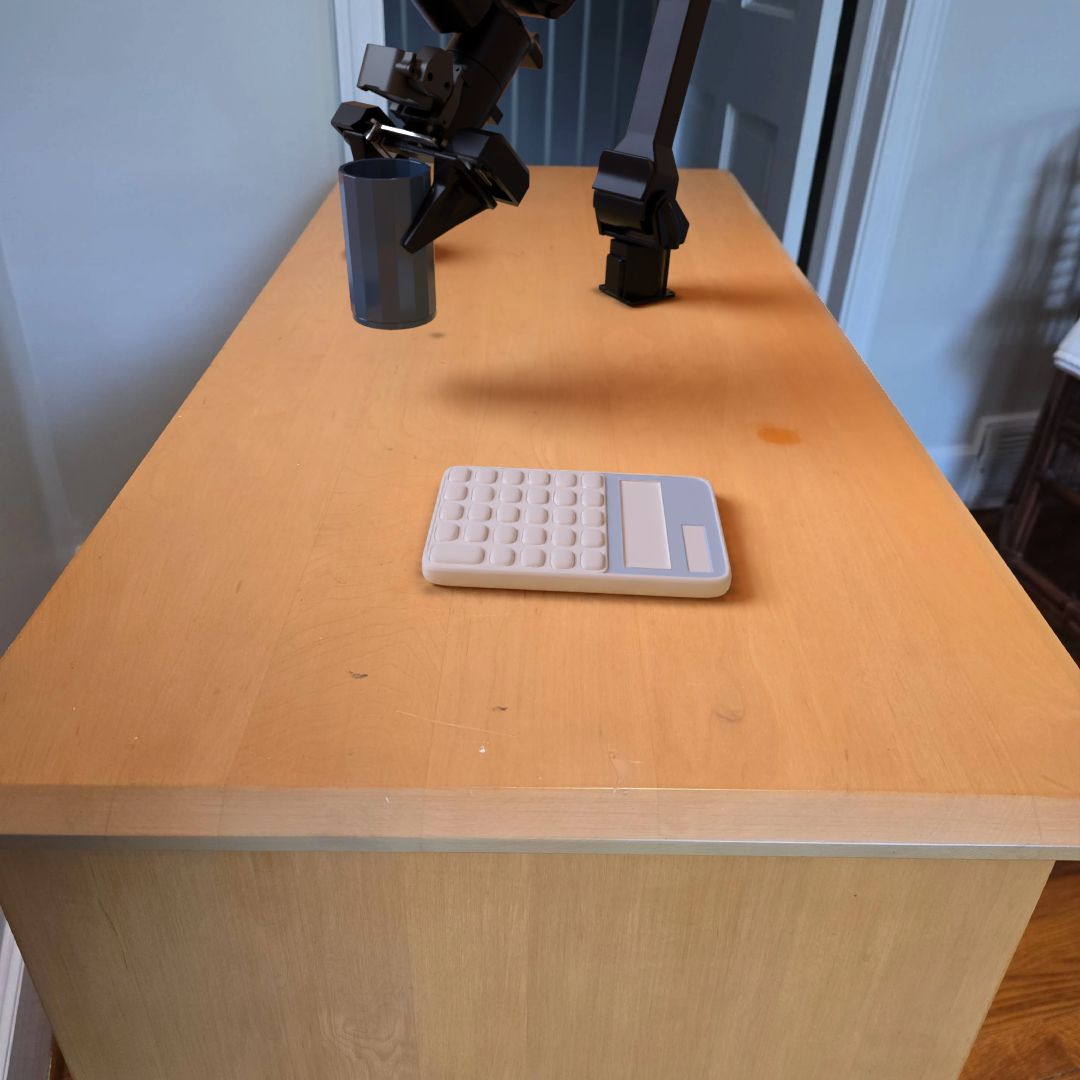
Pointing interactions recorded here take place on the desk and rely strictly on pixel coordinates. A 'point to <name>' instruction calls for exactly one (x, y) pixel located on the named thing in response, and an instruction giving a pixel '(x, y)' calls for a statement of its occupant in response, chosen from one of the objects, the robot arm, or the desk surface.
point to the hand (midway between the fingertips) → (376, 240)
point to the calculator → (577, 532)
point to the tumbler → (386, 243)
